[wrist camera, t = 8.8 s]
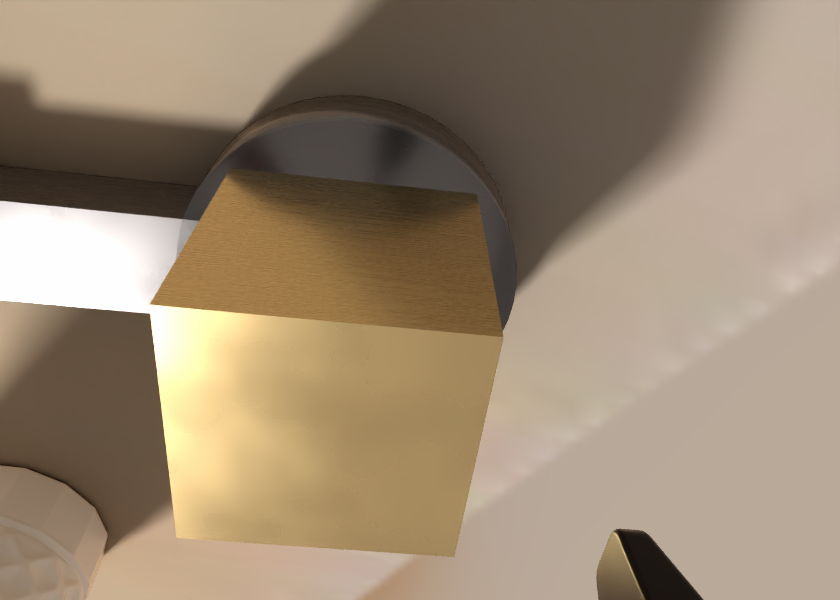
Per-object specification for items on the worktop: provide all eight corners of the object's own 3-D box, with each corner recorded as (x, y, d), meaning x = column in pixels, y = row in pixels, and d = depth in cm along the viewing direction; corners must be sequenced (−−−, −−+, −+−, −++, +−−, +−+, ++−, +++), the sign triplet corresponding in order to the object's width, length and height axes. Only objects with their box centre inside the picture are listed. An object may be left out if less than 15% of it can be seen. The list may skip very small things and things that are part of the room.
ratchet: (536, 116, 18) (584, 218, 13) (480, 382, 23) (499, 532, 18) (-527, -7, 16) (-956, 55, 11) (-342, 309, 21) (-582, 453, 16)
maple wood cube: (230, 167, 16) (149, 304, 11) (477, 193, 17) (503, 337, 12) (237, 363, 20) (176, 537, 15) (444, 381, 20) (454, 556, 15)
